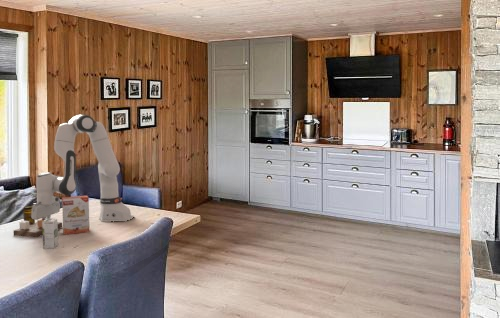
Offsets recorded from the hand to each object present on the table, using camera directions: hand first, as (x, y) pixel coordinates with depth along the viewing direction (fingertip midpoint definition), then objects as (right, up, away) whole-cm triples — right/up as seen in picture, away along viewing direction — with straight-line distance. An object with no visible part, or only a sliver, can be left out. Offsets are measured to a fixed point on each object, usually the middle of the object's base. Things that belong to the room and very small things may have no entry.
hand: (46, 223), depth 257 cm
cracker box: (+19, -5, -3) cm, 20 cm away
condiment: (-16, -3, +10) cm, 19 cm away
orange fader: (-1, -1, -4) cm, 4 cm away
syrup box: (+16, -8, -30) cm, 35 cm away
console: (-4, -4, -1) cm, 6 cm away
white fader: (-9, -2, -8) cm, 12 cm away
